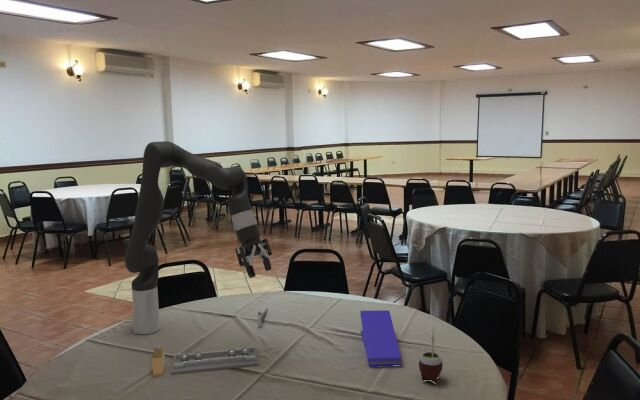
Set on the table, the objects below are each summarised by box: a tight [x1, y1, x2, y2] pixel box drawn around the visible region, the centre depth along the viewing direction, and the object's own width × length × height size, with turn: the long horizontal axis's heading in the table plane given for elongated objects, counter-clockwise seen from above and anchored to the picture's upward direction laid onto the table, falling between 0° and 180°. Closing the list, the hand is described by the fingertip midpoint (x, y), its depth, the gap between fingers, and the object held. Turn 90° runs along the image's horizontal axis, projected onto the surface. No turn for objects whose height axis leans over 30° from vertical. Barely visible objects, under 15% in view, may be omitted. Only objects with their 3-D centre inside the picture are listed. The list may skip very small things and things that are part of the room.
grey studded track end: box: [214, 346, 255, 364], centre depth 174 cm, size 13×8×3 cm, turn 101°
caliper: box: [257, 307, 269, 329], centre depth 210 cm, size 20×1×6 cm, turn 178°
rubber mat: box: [170, 347, 260, 376], centre depth 173 cm, size 28×12×1 cm, turn 101°
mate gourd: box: [418, 326, 444, 383], centre depth 158 cm, size 8×8×15 cm
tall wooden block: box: [151, 347, 166, 377], centre depth 167 cm, size 3×7×6 cm, turn 11°
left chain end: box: [174, 350, 216, 369], centre depth 171 cm, size 13×8×3 cm, turn 101°
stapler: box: [359, 309, 402, 368], centre depth 180 cm, size 12×28×10 cm, turn 3°
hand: (260, 273), depth 167 cm, fingers open, 8 cm apart
